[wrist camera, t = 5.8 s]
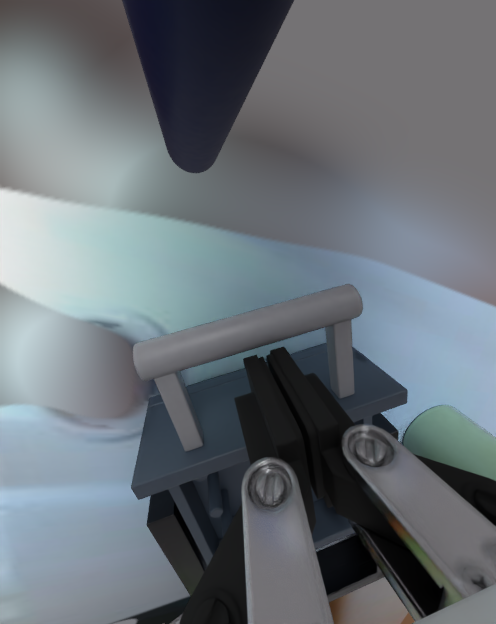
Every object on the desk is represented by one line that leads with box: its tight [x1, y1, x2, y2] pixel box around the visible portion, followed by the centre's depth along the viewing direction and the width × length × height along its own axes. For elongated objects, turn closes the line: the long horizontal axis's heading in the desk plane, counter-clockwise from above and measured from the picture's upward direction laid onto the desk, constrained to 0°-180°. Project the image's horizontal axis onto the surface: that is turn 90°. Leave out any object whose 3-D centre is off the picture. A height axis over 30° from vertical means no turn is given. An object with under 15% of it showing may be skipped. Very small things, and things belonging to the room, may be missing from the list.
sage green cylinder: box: [403, 405, 496, 481], centre depth 19 cm, size 6×6×7 cm
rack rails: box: [147, 413, 398, 602], centre depth 20 cm, size 18×16×3 cm
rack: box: [131, 284, 407, 565], centre depth 14 cm, size 19×12×5 cm, turn 12°
